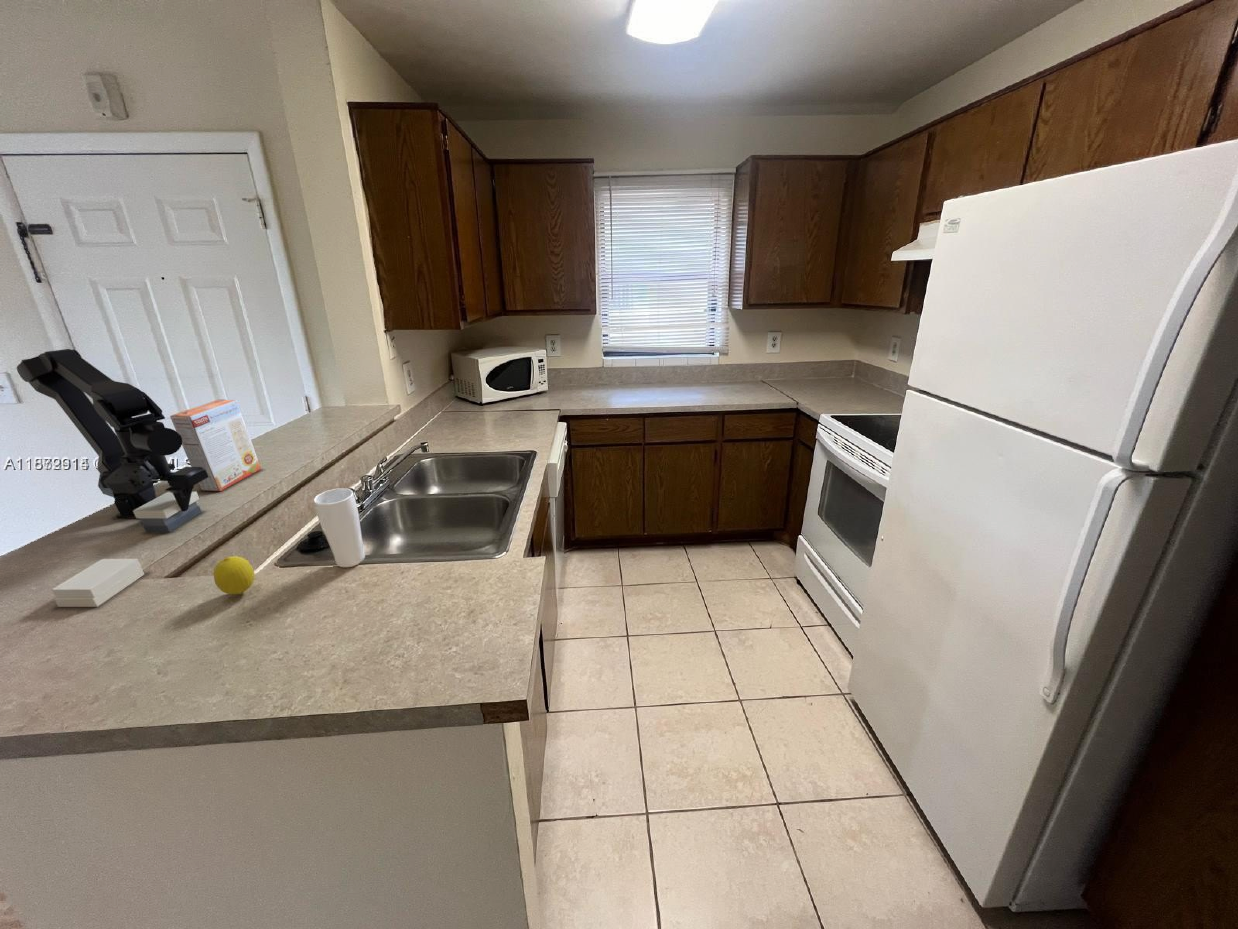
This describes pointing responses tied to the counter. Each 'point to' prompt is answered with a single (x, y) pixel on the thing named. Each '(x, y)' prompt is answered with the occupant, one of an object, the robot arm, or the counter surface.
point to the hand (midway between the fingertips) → (169, 510)
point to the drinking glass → (341, 525)
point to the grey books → (170, 520)
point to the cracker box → (217, 443)
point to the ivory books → (97, 583)
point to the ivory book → (162, 506)
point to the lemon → (233, 575)
